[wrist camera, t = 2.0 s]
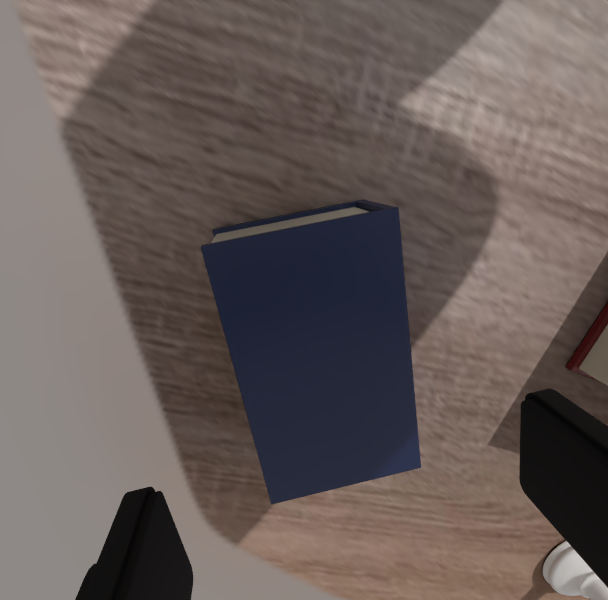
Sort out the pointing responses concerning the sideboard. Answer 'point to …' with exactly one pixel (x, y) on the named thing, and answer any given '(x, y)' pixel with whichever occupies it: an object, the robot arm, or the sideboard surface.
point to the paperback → (320, 344)
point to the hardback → (593, 351)
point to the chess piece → (572, 574)
